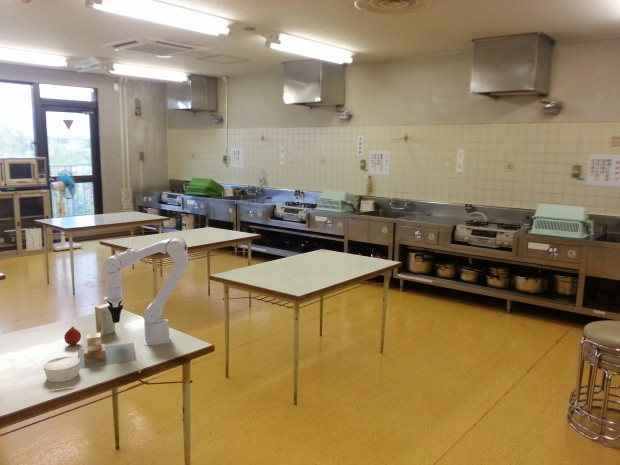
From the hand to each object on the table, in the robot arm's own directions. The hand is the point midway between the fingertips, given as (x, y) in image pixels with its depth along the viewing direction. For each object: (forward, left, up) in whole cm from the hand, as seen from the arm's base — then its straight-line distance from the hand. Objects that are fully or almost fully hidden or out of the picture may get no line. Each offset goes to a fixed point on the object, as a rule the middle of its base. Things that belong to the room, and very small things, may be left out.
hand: (115, 319), depth 193 cm
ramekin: (+18, +25, -10) cm, 32 cm away
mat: (+4, +12, -10) cm, 16 cm away
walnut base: (+8, +14, -10) cm, 19 cm away
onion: (+16, -3, -10) cm, 19 cm away
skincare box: (+4, -13, -10) cm, 17 cm away
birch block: (+8, +14, -6) cm, 17 cm away
